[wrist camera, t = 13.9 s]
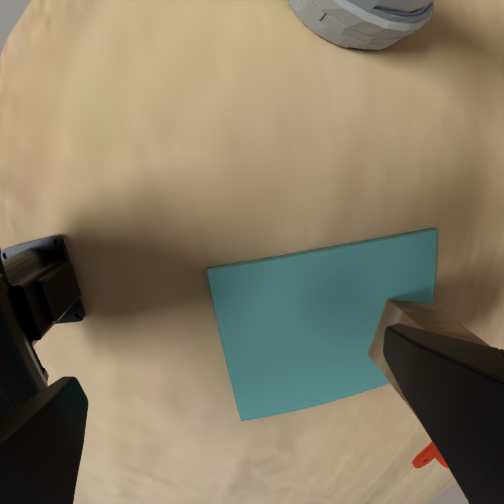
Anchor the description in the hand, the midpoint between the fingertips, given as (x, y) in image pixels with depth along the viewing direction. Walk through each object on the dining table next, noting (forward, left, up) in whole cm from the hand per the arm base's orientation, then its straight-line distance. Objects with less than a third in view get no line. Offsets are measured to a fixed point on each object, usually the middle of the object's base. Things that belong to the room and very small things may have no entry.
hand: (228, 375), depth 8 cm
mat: (+8, -8, -13) cm, 17 cm away
